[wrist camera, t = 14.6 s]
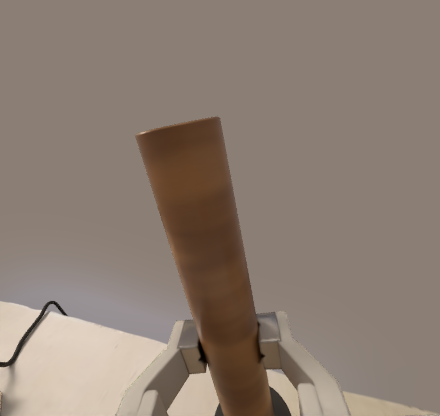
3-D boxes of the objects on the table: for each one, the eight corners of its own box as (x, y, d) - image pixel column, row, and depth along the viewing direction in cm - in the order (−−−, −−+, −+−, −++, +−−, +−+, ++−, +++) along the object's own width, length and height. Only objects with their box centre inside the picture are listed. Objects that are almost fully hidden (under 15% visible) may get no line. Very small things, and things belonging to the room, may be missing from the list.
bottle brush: (220, 469, 17) (96, 143, 8) (268, 421, 19) (207, 121, 10) (263, 570, 13) (105, 135, 4) (318, 495, 15) (284, 101, 6)
